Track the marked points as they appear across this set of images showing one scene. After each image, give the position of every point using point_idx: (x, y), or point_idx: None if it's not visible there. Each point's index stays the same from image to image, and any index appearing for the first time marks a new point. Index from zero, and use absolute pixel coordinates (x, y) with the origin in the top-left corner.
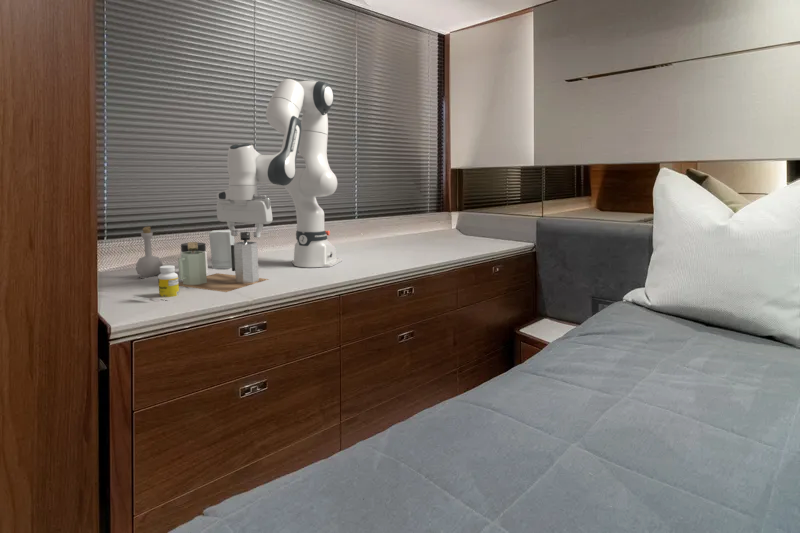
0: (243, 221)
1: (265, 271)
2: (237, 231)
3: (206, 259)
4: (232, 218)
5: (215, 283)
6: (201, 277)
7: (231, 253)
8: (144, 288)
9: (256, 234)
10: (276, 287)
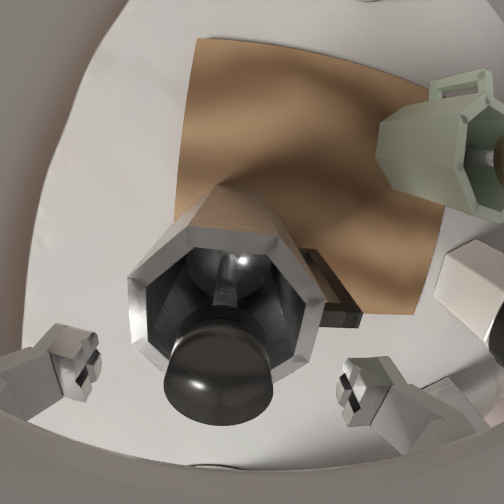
0: (152, 476)
1: (291, 416)
2: (344, 416)
3: (467, 321)
4: (427, 496)
5: (333, 151)
6: (390, 130)
7: (341, 285)
8: (497, 97)
9: (50, 336)
10: (103, 228)
